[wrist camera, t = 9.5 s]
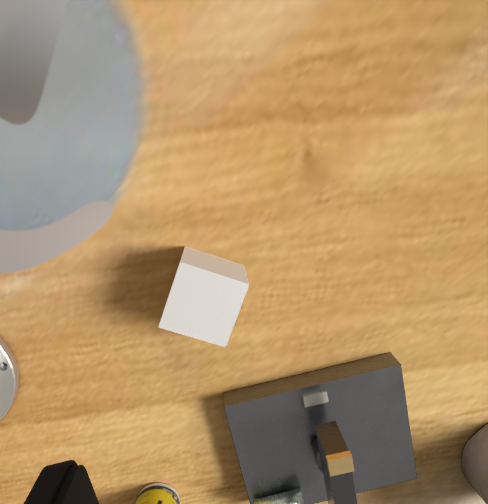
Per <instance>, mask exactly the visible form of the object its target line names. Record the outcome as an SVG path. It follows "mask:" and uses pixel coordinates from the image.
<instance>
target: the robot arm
mask: <svg viewBox="0 0 488 504" xmlns="http://www.w3.org/2000/svg"><path fill="white" fill-rule="evenodd" d="M19 380H20V379H19V371H18V366H17V363H16V360H15V357H14V356H13V354H12V352H11V351H10V349H9V347H8V346H7V345H6V344H5V342H4V341H3V340H2V339H1V338H0V419H1V418H2V417H3V416H4V415H5V414H6V413H7V411H8V410H9V409H10V407H11V406H12V404H13V403H14V401H15V399H16V396H17V393H18V390H19ZM24 504H99V502H98V500H97V497H96V494H95V492H94V489H93V487H92V484H91V481H90V479H89V476H88V474H87V471H86V469H85V467H84V466H83V465H79V466H78V465H77V463H76V462H75V461H74V460H69V461H65V462H61V463H57V464H53V465H48V466H46V467H44V468H43V470H42V471H41V473H40V475H39V477H38V478H37V480H36V482H35V484H34V486H33V488H32V490H31V491H30V493H29V495H28V497H27V499H26V501H25V502H24Z"/></svg>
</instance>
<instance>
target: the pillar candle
mask: <svg viewBox="0 0 488 504" xmlns="http://www.w3.org/2000/svg"><path fill="white" fill-rule="evenodd" d="M461 464H462V469H463V472H464V474H465V476H466V477H467V479H468V482H469V483H470V485H471V486H472V487H473V488H474V489H475V491H476V492H477V493H478V494H479V496H480V497H481V498H482V499H483V500H484V501H485V503H486V504H488V424H486V425H485V426H484V427H483V428H482V429H480V430H479V431H478V432H477V433H476V434H475V435H474V436H472V437H471V438H470V439H469V440H468V442H467V443H466V445H465V447H464V449H463V452H462V458H461Z"/></svg>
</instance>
